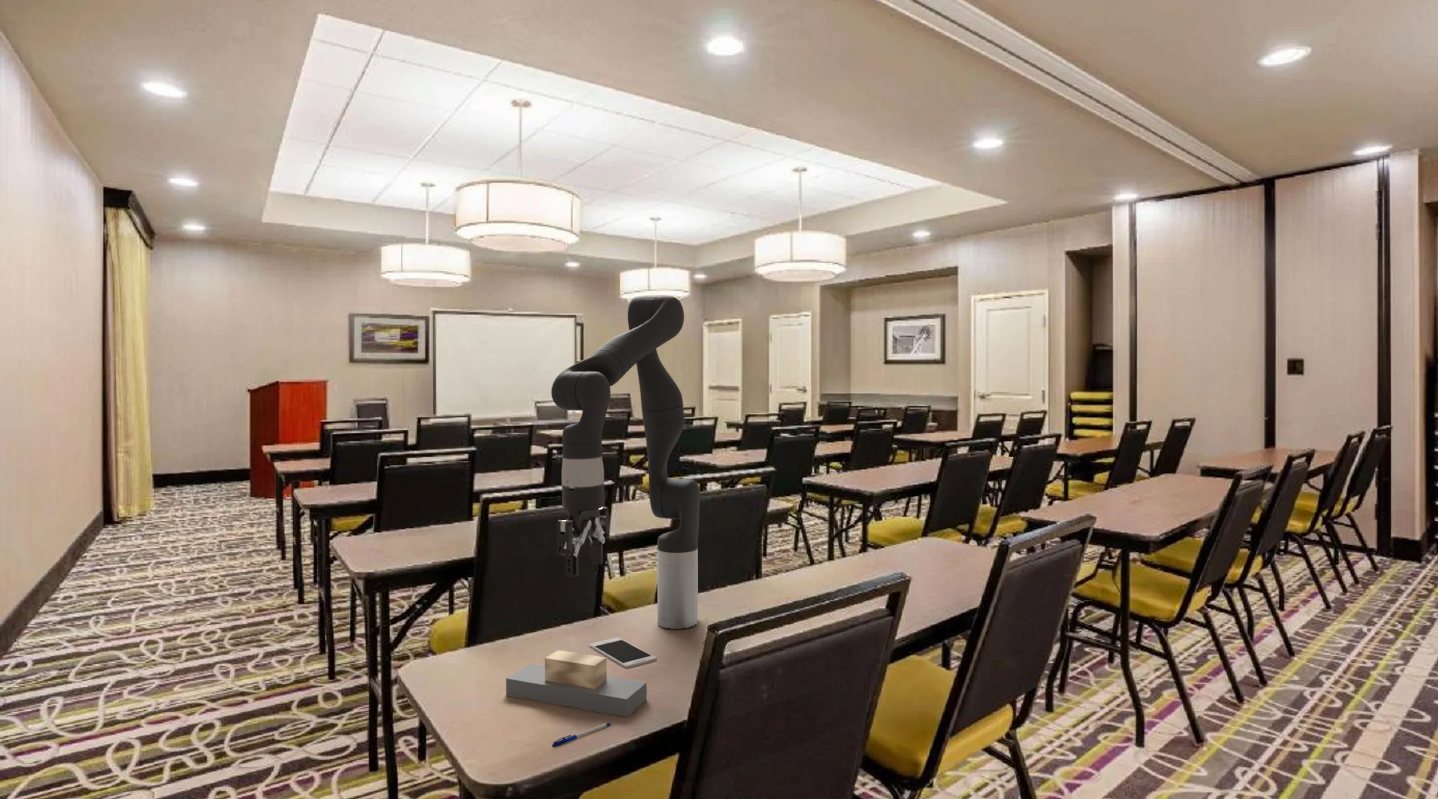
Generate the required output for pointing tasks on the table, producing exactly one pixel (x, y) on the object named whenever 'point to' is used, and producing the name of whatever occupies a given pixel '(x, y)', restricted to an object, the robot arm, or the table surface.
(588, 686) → the tan rectangular block
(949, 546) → the table surface
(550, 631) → the table surface
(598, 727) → the ballpoint pen
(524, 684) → the slotted rail
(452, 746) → the table surface
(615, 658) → the smartphone
